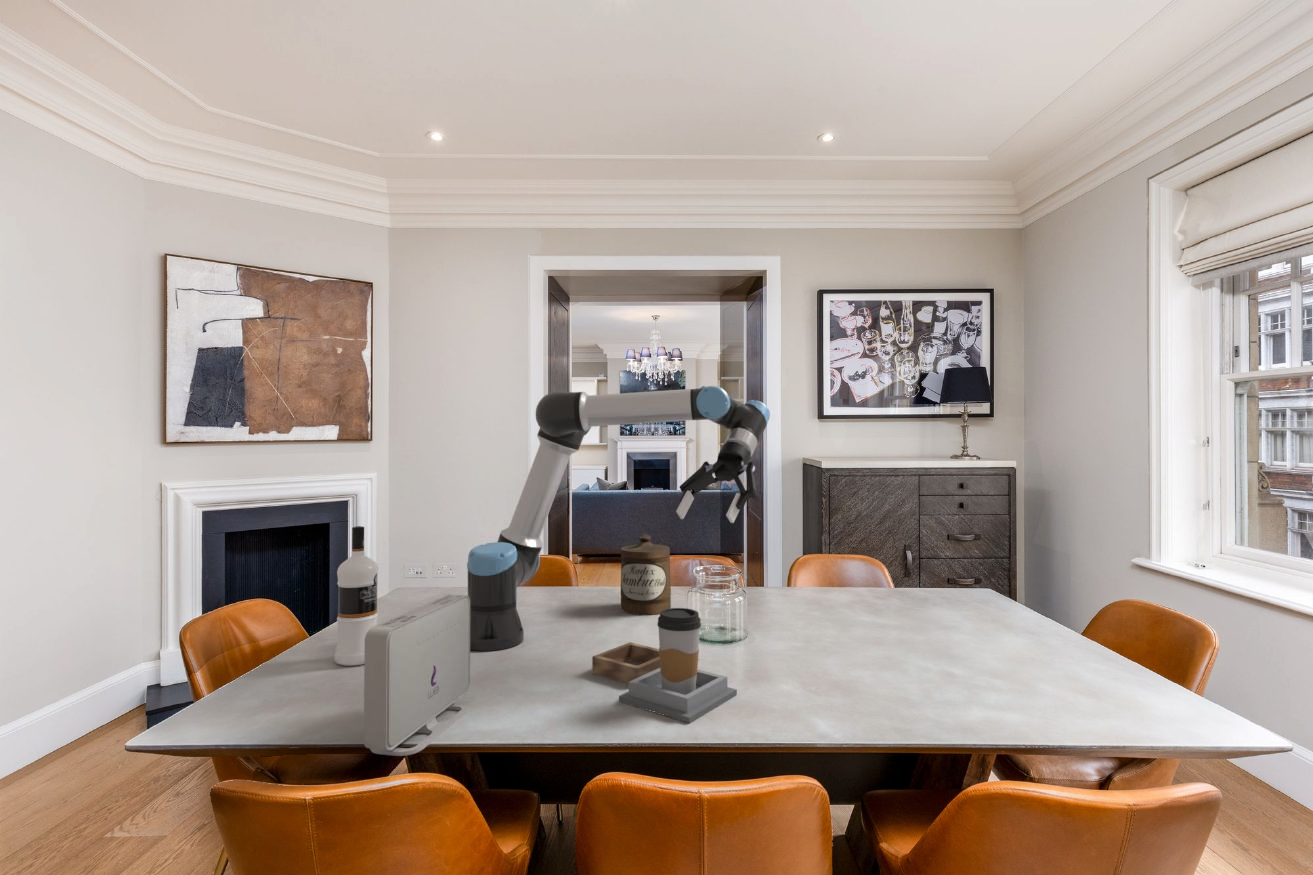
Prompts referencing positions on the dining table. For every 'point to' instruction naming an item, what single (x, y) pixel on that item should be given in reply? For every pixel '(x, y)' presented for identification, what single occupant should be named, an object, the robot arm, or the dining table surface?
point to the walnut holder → (616, 666)
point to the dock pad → (679, 695)
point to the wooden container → (645, 578)
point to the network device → (416, 674)
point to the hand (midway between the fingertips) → (703, 517)
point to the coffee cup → (679, 649)
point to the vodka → (355, 602)
